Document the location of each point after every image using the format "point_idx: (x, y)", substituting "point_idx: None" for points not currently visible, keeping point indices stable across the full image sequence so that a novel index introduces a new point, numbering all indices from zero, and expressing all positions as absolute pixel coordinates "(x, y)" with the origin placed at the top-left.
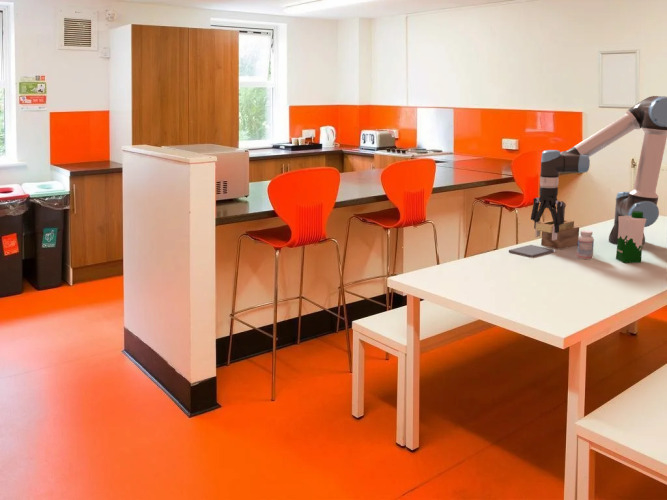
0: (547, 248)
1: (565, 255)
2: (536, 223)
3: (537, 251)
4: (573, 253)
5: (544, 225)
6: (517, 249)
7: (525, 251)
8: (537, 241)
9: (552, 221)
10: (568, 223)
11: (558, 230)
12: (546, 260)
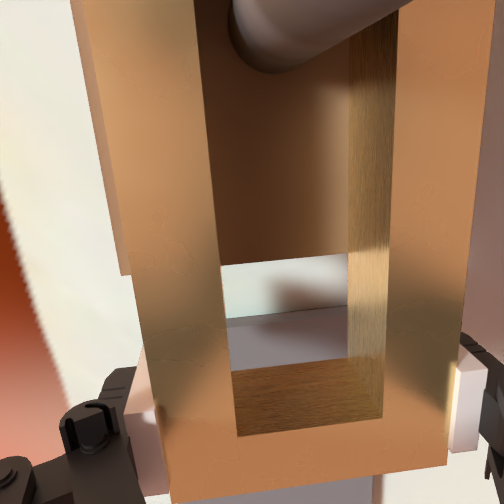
0: (322, 322)
1: (483, 309)
2: (178, 502)
3: None
4: (497, 217)
5: (322, 473)
6: (208, 500)
7: (280, 493)
8: (8, 120)
9: (211, 182)
10: (480, 4)
11: (475, 351)
12: (461, 479)
